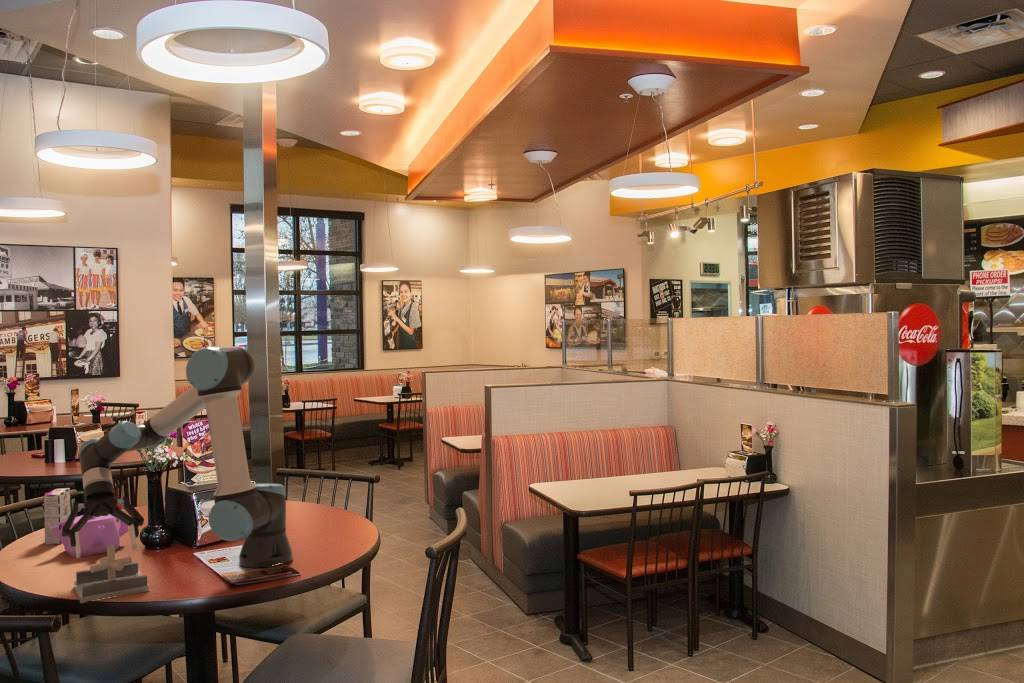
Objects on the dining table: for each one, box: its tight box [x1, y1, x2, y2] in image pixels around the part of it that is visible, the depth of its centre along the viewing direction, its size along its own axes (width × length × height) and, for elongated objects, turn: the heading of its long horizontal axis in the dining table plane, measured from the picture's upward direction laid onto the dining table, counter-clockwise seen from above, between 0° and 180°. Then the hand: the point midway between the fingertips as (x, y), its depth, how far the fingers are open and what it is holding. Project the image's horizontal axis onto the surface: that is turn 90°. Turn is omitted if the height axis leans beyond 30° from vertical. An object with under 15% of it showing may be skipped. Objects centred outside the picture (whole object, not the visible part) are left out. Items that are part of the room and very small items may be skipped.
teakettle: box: [50, 514, 129, 558], centre depth 244 cm, size 17×17×12 cm
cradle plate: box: [73, 561, 150, 604], centre depth 206 cm, size 16×16×4 cm
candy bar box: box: [43, 487, 72, 546], centre depth 256 cm, size 11×5×16 cm, turn 14°
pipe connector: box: [89, 545, 133, 581], centre depth 206 cm, size 10×10×10 cm
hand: (107, 551), depth 209 cm, fingers open, 13 cm apart
